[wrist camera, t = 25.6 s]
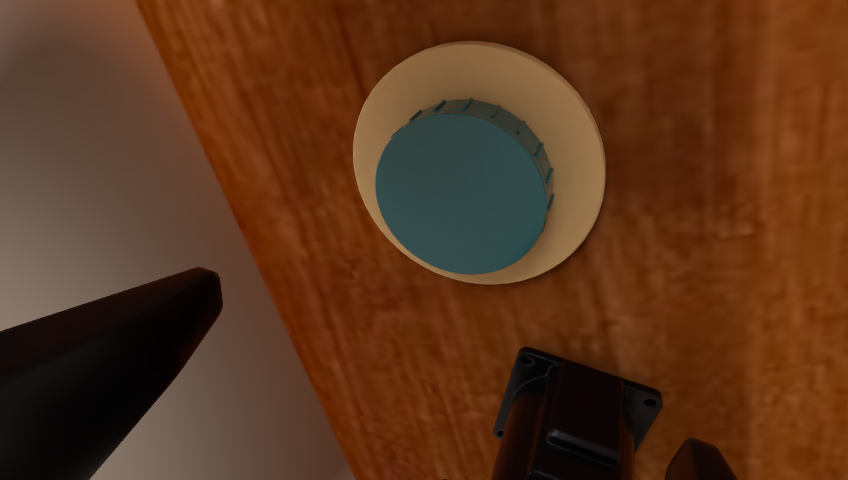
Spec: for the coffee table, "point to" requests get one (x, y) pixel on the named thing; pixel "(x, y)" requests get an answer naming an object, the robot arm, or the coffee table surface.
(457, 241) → the jar lid
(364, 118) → the coaster
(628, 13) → the coffee table surface
